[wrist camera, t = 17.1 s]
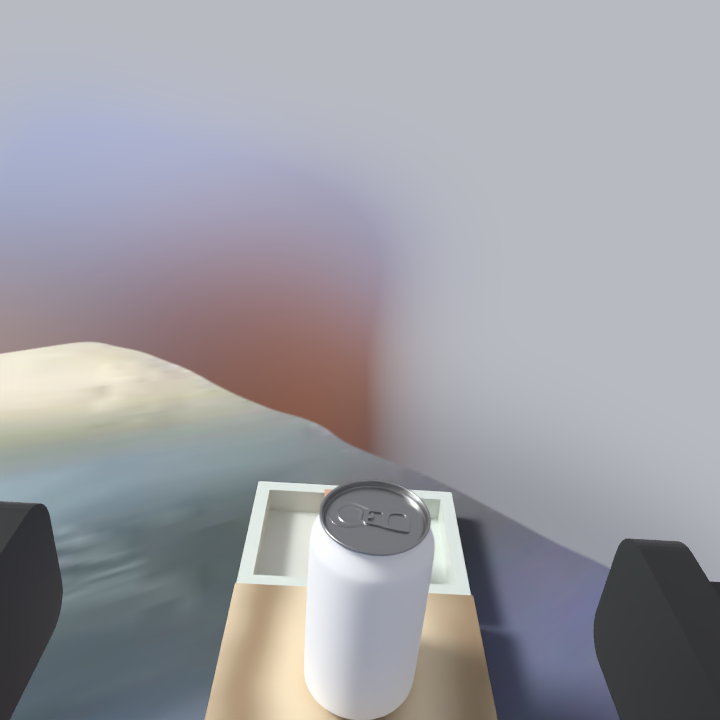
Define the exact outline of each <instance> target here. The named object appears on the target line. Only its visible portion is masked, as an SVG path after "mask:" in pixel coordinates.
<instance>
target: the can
mask: <svg viewBox="0 0 720 720" xmlns="http://www.w3.org/2000/svg"><path fill="white" fill-rule="evenodd" d="M430 526H431V517H430V513H429V510H428V508H427V506H426V504H425V503H424V502H423V501H422V499H421V498H420V497H419V496H417V495H416V494H415V493H414V492H412V491H411V490H409V489H407V488H405V487H403V486H401V485H399V484H396V483H393V482H389V481H384V480H377V479H362V480H355V481H351V482H347V483H344V484H342V485H340V486H338V487H336V488H334V489H333V490H332V491H330V492H329V493H328V494H327V495H326V496H325V498H324V499H323V501H322V503H321V506H320V510H319V515H318V516H317V518H316V519H315V521H314V523H313V526H312V529H311V534H310V543H309V559H308V579H307V600H306V622H305V646H304V676H305V681H306V685H307V687H308V689H309V691H310V693H311V695H312V696H313V697H314V699H315V700H316V701H317V702H318V703H319V704H320V705H321V706H322V707H324V708H325V709H326V710H328V711H329V712H331V713H333V714H335V715H337V716H340V717H343V718H346V719H351V720H372V719H377V718H380V717H383V716H385V715H387V714H389V713H391V712H393V711H394V710H396V709H397V708H398V707H399V706H400V705H401V704H402V703H403V702H404V701H405V699H406V698H407V696H408V694H409V692H410V690H411V687H412V684H413V680H414V675H415V669H416V664H417V658H418V652H419V646H420V640H421V634H422V628H423V622H424V616H425V610H426V604H427V598H428V592H429V586H430V579H431V573H432V567H433V560H434V552H435V541H434V536H433V533H432V530H431V527H430Z"/></svg>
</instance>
